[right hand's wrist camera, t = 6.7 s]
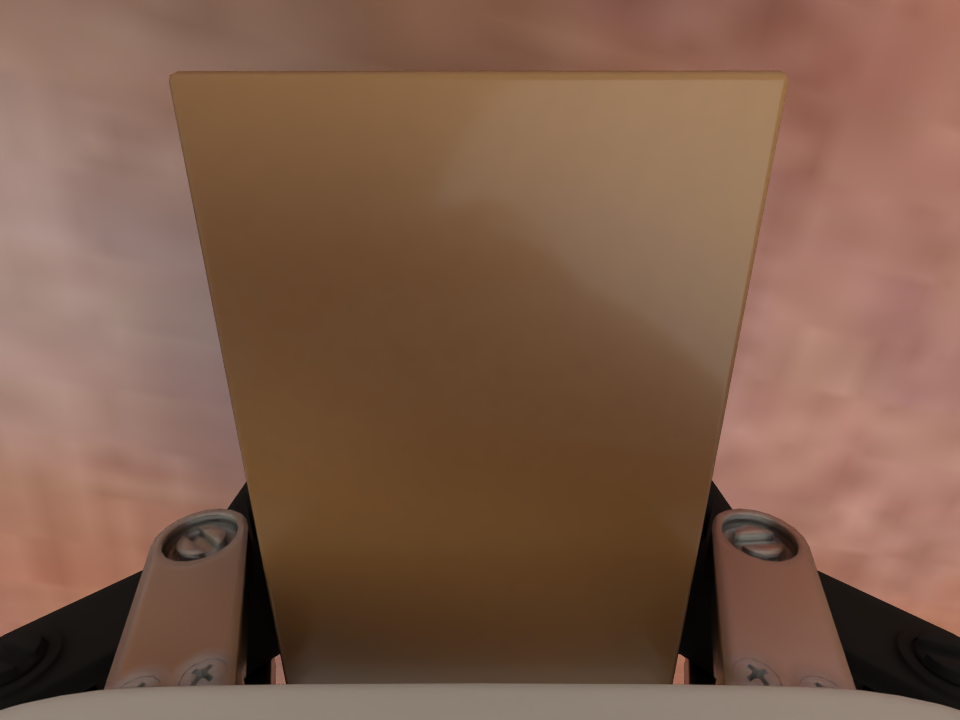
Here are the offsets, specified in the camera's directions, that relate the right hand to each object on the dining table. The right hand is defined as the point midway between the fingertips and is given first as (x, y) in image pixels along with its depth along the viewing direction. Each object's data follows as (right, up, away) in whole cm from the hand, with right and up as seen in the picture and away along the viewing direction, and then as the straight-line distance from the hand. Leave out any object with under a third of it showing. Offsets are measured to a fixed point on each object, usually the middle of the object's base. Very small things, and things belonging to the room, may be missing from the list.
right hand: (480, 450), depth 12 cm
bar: (0, -21, +11) cm, 24 cm away
